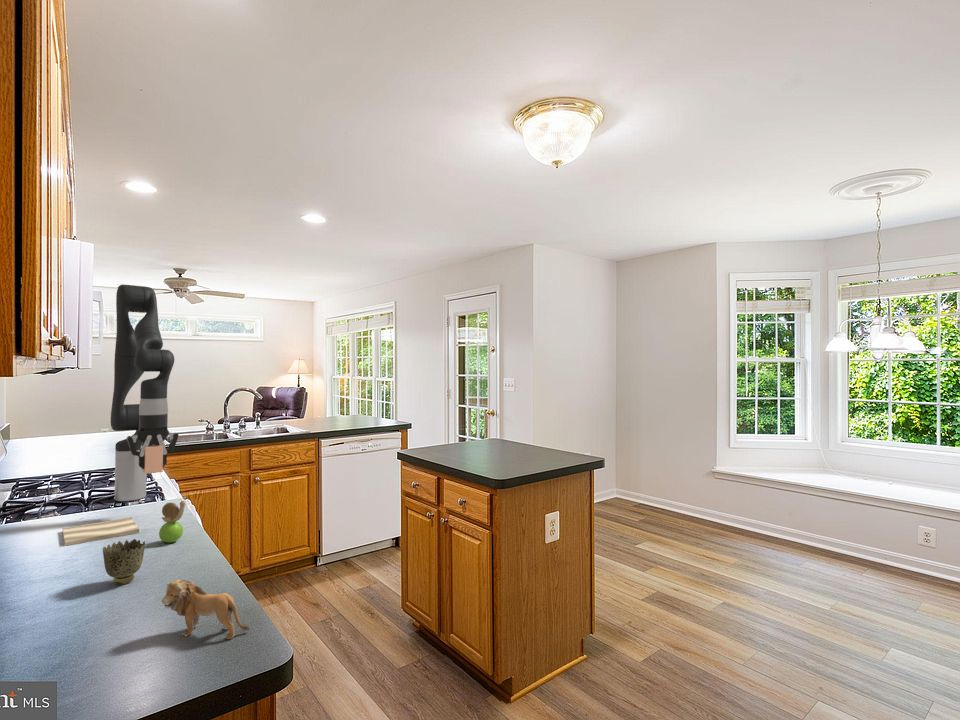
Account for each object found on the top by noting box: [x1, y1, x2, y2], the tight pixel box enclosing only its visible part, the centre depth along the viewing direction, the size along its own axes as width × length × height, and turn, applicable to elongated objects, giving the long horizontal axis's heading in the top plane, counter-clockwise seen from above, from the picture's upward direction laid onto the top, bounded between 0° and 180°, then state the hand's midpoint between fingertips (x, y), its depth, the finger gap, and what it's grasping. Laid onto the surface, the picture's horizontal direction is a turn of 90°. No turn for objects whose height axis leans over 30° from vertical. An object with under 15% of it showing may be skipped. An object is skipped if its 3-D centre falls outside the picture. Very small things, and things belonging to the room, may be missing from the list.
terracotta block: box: [143, 445, 164, 474], centre depth 157 cm, size 5×5×8 cm
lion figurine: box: [161, 578, 251, 640], centre depth 87 cm, size 15×5×9 cm, turn 91°
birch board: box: [62, 517, 140, 547], centre depth 140 cm, size 15×16×1 cm
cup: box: [102, 538, 146, 586], centre depth 107 cm, size 8×7×8 cm
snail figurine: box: [158, 495, 187, 544], centre depth 132 cm, size 5×6×12 cm
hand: (152, 467), depth 156 cm, fingers closed on terracotta block, 4 cm apart
